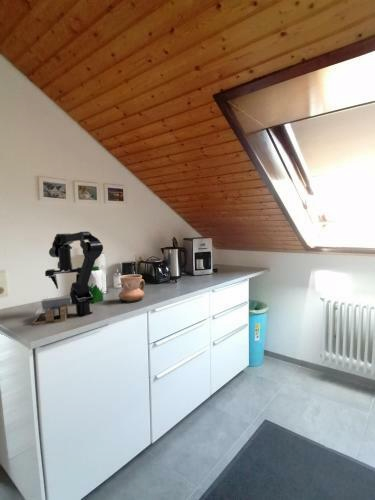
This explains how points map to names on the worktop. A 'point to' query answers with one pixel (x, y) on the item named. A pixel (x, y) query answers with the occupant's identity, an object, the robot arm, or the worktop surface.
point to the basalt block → (56, 302)
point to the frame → (52, 316)
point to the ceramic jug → (131, 287)
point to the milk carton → (96, 285)
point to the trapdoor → (55, 309)
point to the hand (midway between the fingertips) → (67, 287)
